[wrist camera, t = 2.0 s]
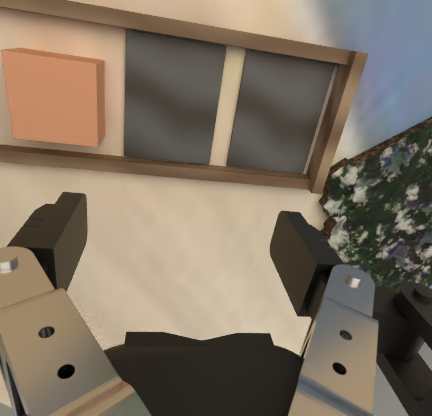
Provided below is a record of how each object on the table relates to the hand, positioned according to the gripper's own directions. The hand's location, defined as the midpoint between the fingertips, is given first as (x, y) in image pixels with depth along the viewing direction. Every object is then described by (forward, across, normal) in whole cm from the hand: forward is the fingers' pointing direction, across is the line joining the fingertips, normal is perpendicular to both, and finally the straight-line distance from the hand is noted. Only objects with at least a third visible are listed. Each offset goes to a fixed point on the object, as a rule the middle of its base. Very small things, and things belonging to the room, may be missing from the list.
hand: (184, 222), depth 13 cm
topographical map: (+23, -34, +7) cm, 41 cm away
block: (+22, +10, 0) cm, 25 cm away
